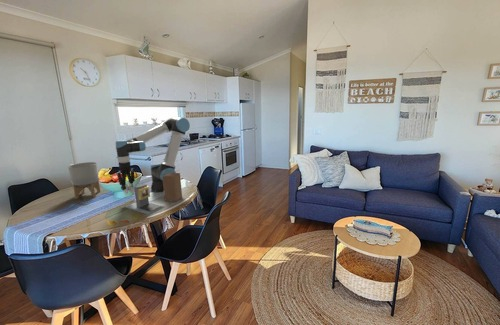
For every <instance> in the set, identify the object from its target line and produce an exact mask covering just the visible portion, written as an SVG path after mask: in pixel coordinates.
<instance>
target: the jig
mask: <svg viewBox="0 0 500 325" xmlns="http://www.w3.org/2000/svg"><path fill="white" fill-rule="evenodd" d="M146 186H148V185H147V184H144V183H142V184H140V185H136V186H133V187H134V190H135V192H134V195H135V202H133V203H131V204H128V205H125V208H126V209H128V210H132V211H135V212H138V213H142V214H145V215H150V214H152V213H154V211H155V212H156V210H157V211H159V210H161V209H163V208H165V205H164V204H160V203H157V202H153V201H150V199H149V197H147V198H145V199H142V200H139V196H138V189H140V188H143V187H146ZM144 195H146V194H142V196H144Z"/></svg>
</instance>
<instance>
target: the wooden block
mask: <svg viewBox="0 0 500 325" xmlns="http://www.w3.org/2000/svg"><path fill="white" fill-rule="evenodd" d="M162 178H163V187H164V191H163V195H164V201H165V202H178V201H179V200H181V198H183V192H182V190H183V189H182V183H181V173H179V172H176V173H168V174H166V175H164V176H163V177H162Z"/></svg>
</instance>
